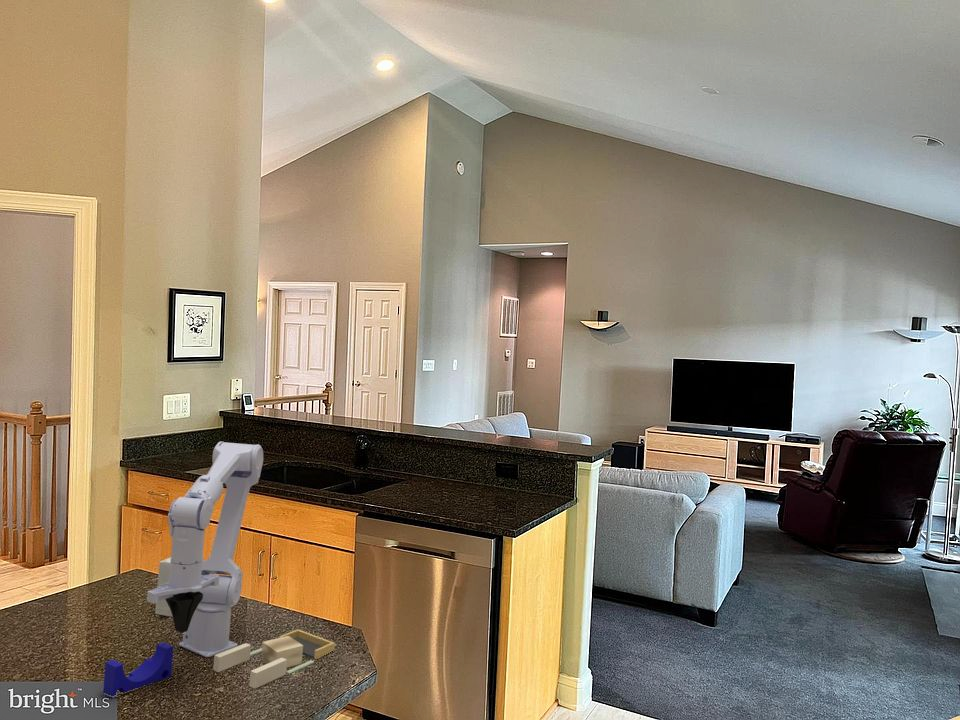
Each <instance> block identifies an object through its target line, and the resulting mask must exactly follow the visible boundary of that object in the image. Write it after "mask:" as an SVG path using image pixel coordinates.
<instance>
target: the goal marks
mask: <svg viewBox="0 0 960 720" xmlns="http://www.w3.org/2000/svg"><path fill="white" fill-rule="evenodd" d="M260 653H262V647H260V648H258V649H255V650H252V651H251V652H250V657H252V656H255V655H257V654H260ZM313 664H315V661H313V660H311V659H310V660H309V661H306V662H304V663H303V662H302V664H298V665H296V666H295V667H292V668H291V669H289V670H286V674H288V675H291V674H294V673H296V672H298V671H300V670H302V669H304V668H306V667H308V666H311V665H313Z"/></svg>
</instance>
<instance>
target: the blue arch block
mask: <svg viewBox="0 0 960 720" xmlns="http://www.w3.org/2000/svg"><path fill="white" fill-rule="evenodd" d="M173 655H174V646H173V645H171V644H168V643H166V642H160V643H158V644H156V648H155V653H153V656H151V657H149V658H147V659H144V661H143V662H142V664H141V665H139V666H138V667H137V668H136V669H134V670H133V671H131V672H129V673H128V676H126V674H125V670H124V664H123V663H121V662H119V661H117V660H115V659H111V660H108V661H106V662H105V664H104V676H103V677H104V678H103V691H102V693H103V692H104V693H106V694H108V695H111V696H114V695H116V692H117V690H119V691H120V692H123V693H124V692H127V691H129V690H133V689H135V688H139V687H142V686H144V685H147V686H149V685H148V684H150V683H153V682H155V683H157V682H156V681H158V682H160V681H162V679H163V680H165V679H167V678H170V677H172V669H173V659H174V658H173V657H174V656H173ZM159 680H160V681H159ZM153 684H154V683H153ZM150 685H151V684H150ZM142 688H143V687H142Z"/></svg>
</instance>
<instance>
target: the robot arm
mask: <svg viewBox="0 0 960 720" xmlns="http://www.w3.org/2000/svg"><path fill="white" fill-rule="evenodd" d="M211 457H212V458H211V459H212V460H211V461H212V465H211V466H210V469H209V470H208V471H207V474H202V475H201V476H199V477H198V478H197V479H196V480H195V482H193V484H192V485H191V487H190V488H189V489H188V491H187V492H186V493H185V494H184V496H179V497H178V498H177V499H174V500H173V501H172V502H171V505H170V506H169V507H170V508H169V510H168V514H167V522H168V525H169V537H171V551H170V552H171V553H170V557H171V562H170V575H169V582H168V583H166V584H163V585H161V586H159V587H157V586H156V587H155V588H153V589H149V590H147V594H146V602H148V603H151V604H152V605H153V604H155V605H156V603H158V601H160V600H163V599H165V600H166V602H167V603H168V605H169V608H170V610H171V613H172V616H173V617H172V621H173V624H174V631H176V632H178V633H181V634H183V635H182V641H181V642H179V643H178V645H179V646H180V647H183V648H184V649H186V650H189V651H191V652H192V653H195V654H198V655H200V656H202V657H205V658H210V657H211V658H212V657H213V656H214V655H216V654H219V653H222V652H224V651H227V650H229V649H232V648H235V647H237V646H238V643H236V642H234V641H231V640H230V630H231V617H232V607H233V608H234V607H235V605H237V604H238V602H239V600H240V598H241V593H242V588H243V584H242V583H243V582H242V581H243V577H244V574H243V571H242V569H241V568H240V567H239V566H238V565H237V564H236V563H235V561H234V556H235V552H236V548H237V543H238V541H239V540H238V539H239V535H240V530H241V526H242V522H243V518H244V513H245V509H246V504H247V500H248V496H249V493H250V489H251V487H253V486H254V485H256V484H258V483H259V479H260V477H261V472H262V468H263V464H264V450H263V448H262V445H260V444H259V443H258V444H251V443H249V444H248V443H235V442H226V441H225V442H224V441H219V442H217V444H215V446H214V448H213V451H212V456H211ZM224 484H225V486H226V490H225V494H224V498H223V501H222V506H221V510H220V513H219V520H218V522H217V527H216V530H215V535H214V539H213V543H212V547H211V550H210V555H209V558H207V559H205V560H204V549H205V547H204V546H205V533H206V532H205V531H206V529H207V528H208V526H209V524H210V522H211V520H212V519H211V518H212V515H213V513H214V507H215V505H216V503H217V502H218V501H219V499H220V497H221V496H222V495H223V493H224ZM202 561H203V562H202Z"/></svg>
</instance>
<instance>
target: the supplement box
mask: <svg viewBox="0 0 960 720" xmlns="http://www.w3.org/2000/svg"><path fill="white" fill-rule="evenodd" d="M170 562H171V556H170V557H168V558H165V559H163V560H161V561H159V564H158V576H157V586H156V588H157V587H159V586H161V585H163V584H166V583H168V582H169V575H170ZM202 562H204V560H203V561H202ZM154 611H155V612H154V614H155V615H161V616H166V617H171V618H173V616H172V613H171V610H170V608H169V605H168V603H167V602H166V600H165V599H163V600H160V601H158V603H155V610H154Z"/></svg>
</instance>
